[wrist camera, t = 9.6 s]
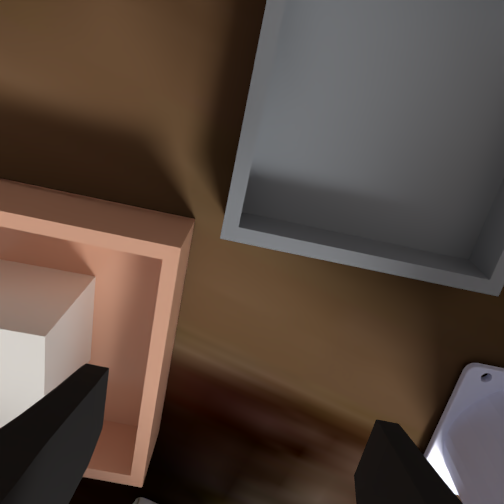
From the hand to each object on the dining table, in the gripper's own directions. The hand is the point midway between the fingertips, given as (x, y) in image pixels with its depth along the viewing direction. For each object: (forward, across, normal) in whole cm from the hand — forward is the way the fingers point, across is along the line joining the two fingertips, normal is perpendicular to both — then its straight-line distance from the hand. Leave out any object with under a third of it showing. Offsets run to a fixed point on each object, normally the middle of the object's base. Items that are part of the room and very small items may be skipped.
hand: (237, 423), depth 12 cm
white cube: (+9, +9, +4) cm, 13 cm away
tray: (+9, -4, -8) cm, 13 cm away
